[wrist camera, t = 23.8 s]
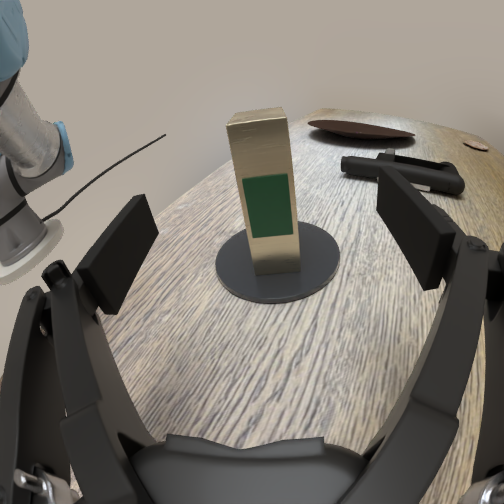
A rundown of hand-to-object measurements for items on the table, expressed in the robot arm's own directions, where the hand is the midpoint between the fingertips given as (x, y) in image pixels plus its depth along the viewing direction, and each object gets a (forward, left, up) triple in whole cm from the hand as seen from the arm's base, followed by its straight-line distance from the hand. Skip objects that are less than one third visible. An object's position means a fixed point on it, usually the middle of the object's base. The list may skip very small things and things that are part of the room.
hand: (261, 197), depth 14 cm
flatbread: (-47, +58, -10) cm, 75 cm away
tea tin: (-8, 0, -10) cm, 12 cm away
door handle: (-27, +23, -10) cm, 37 cm away
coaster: (-8, 0, -10) cm, 13 cm away
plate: (-54, +24, -10) cm, 60 cm away
